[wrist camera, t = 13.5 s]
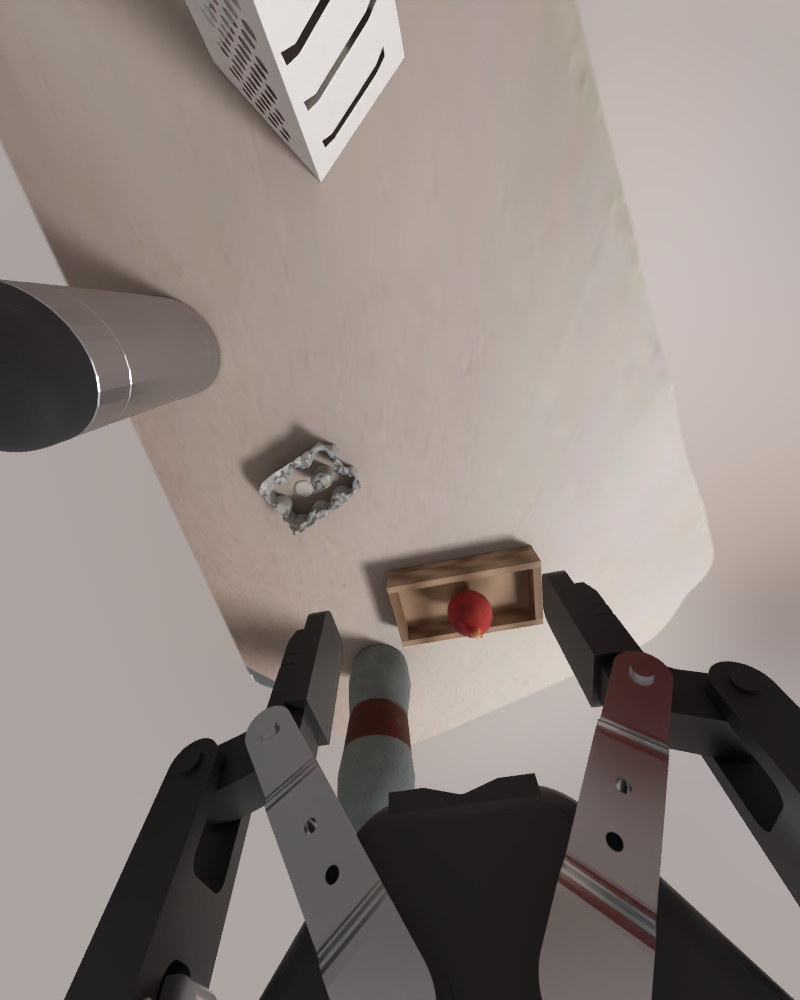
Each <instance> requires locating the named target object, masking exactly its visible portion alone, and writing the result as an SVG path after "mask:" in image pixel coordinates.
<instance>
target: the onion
mask: <svg viewBox="0 0 800 1000" xmlns="http://www.w3.org/2000/svg"><path fill="white" fill-rule="evenodd" d="M447 613H448V619H449V622H450V624H451V625H452V627H453V628H454V629H455V630H456V631H457V632H458V633H459V634H461V635H463V636H467V637H470V638H481V637H482V634H484V633H485V632H486V631H487V630H488V629H489V628H490V625H491V622H492V618H493V614H492V608H491V605H490V603H489V601H488V600H487V598H486V597H485V596H484V595H482V594H480V593H479V592H477V591H474V590H462V591H459V592H457V593H456V594H455V595H454V596H453V597H452V598H451V600H450V602H449V605H448V607H447Z"/></svg>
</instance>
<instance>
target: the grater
mask: <svg viewBox="0 0 800 1000" xmlns="http://www.w3.org/2000/svg"><path fill="white" fill-rule="evenodd" d="M213 1H214V0H185V2H186V4H187V6H188V8H189V10H190V12H191V15H192V17H193V19H194V21H195V23H196V25H197V27H198V30H199V32H200V34H201V36H202V38H203V40H204V42H205V45H206V47H207V49H208V51H209V53H210V55H211V57H212V59H213V62H214V63H215V64H216V65H217V66H218V67H219V68H220V69H221V71H222V72H223V73H224V74H225V75H226V76H227V77H228V78H229V80H230V81H231V82H232V83H233V84H234V85H235V86H236V87H237V89H238V90H239V91H240V92H241V93H242V94H243V95H244V96H245V98H246V99H247V100H248V101H249V102H250V103H251V104H252V105H253V107H254V108H255V109H256V110H257V111H258V112H259V113H260V114H261V116H262V117H263V118H264V119H265V120H266V121H267V122H268V123H269V125H270V126H271V127H272V128H273V129H274V130H275V131H276V132H277V134H278V135H279V136H280V137H281V138H282V139H283V140H284V141H285V143H286V144H287V145H288V146H289V147H290V148H291V149H292V150H293V152H294V153H295V154H296V155H297V156H298V157H299V158H300V159H301V161H302V162H303V163H304V164H305V165H306V166H307V167H308V168H309V170H310V171H311V172H312V173H313V174H314V175H315V176H316V177H317V179H318V180H319V181H320V182H321V181H322V180H323V178H324V177H325V175H326V174H327V172H328V171H329V169H330V168H331V166H332V165H333V163H334V162H335V160H336V159H337V157H338V156H339V154H340V153H341V151H342V150H343V148H344V147H345V145H346V144H347V142H348V141H349V139H350V138H351V136H352V135H353V133H354V132H355V130H356V129H357V127H358V126H359V124H360V123H361V121H362V120H363V118H364V117H365V115H366V114H367V112H368V111H369V109H370V108H371V106H372V105H373V103H374V102H375V100H376V99H377V97H378V96H379V94H380V93H381V91H382V90H383V88H384V87H385V85H386V84H387V82H388V81H389V79H390V78H391V76H392V75H393V73H394V72H395V70H396V69H397V67H398V66H399V64H400V63H401V61H402V60H403V58H404V51H403V46H402V40H401V34H400V28H399V22H398V16H397V10H396V5H395V0H330V1H329V3H328V5H327V6H326V8H325V10H324V12H323V13H322V15H321V17H320V19H319V20H318V22H317V24H316V25H315V27H314V29H313V31H312V32H311V34H310V36H309V38H308V39H307V41H306V43H305V45H304V46H303V48H302V50H301V51H300V53H299V54H298V55H297V56H296V57H295V58H294V59H293V60H292V61H291V62H290V63H289V64H288V65H286V63H285V61H284V59H283V57H282V55H281V52H283V51H284V50H286V49H287V48H289V47H291V46H292V45H294V44H295V43H296V42H297V40H298V38H299V36H300V35H301V33H302V31H303V29H304V28H305V26H306V24H307V22H308V21H309V19H310V17H311V15H312V14H313V12H314V10H315V8H316V6H317V5H318V3H319V1H320V0H217V2H218V6H217V5H216V4H215V3H214V2H213ZM211 3H212V5H213V6H214V8H215V10H216V12H214V11H213V10H212V9H211V8H210V6H209V4H211ZM367 7H369V8H370V10H371V11H372V12H371V15H370V17H369V19H368V21H367V23H366V25H365V26H364V28H363V29H362V31H361V33H360V34H359V36H358V38H357V39H356V41H355V42H354V44H353V46H352V47H351V49H350V51H349V52H348V54H347V55H346V57H345V59H344V60H343V62H342V64H341V65H340V67H339V68H338V70H337V72H336V73H335V75H334V76H333V78H332V80H331V81H330V83H329V85H328V86H327V88H326V89H325V91H324V93H323V94H322V96H321V98H320V99H319V101H318V102H317V103H316V104H315V105H314V106H313V107H312V108H311V109H310V110H309V111H308V110H307V108H306V106H305V104H304V101H306V100H307V99H309V98H310V97H312V96H313V95H315V94H316V93H317V91H318V89H319V88H320V86H321V84H322V83H323V81H324V79H325V78H326V76H327V75H328V73H329V71H330V70H331V68H332V66H333V65H334V63H335V61H336V60H337V58H338V57H339V55H340V53H341V52H342V50H343V48H344V47H345V45H346V43H347V42H348V40H349V39H350V37H351V35H352V34H353V32H354V30H355V29H356V27H357V25H358V24H359V22H360V21H361V19H362V17H363V16H364V14H365V12H366V10H367ZM208 8H209V9H210V10H211V12H212V13H213V15H212V14H211V12H210V10H209V9H208ZM240 8H241V10H240ZM236 16H237V17H238V19H237V18H236ZM241 19H243V20H244V21H245V22H246V23H247V24H248V26H249V27H250V28H251V30H252V32H253V33H254V35H255V37H256V41H255V40H254V39H253V38H252V37H251V36H250V34H249V33H248V32H247V30H246V28H245V27H244V25H243V23H242V21H241ZM234 21H235V23H236V25H237V28H236V27H235V26H234V25H233V22H234ZM231 27H232V29H233V31H234V33H235V35H234V34H232V32H231V31H230V28H231ZM241 29H243V30H244V31H245V32H246V34H247V35H248V36H249V38H250V39H251V41H252V42H253V44H254V46H255V49H253V48H252V47H251V45H250V44H249V43H248V42H247V40H246V39H245V37H244V35H243V34H242V32H241ZM228 32H229V33H230V35H231V36H232V38H233V40H234V42H232V41H231V40H230V38H229V37H228V36H227V34H228ZM238 35H239V36H240V37H241V38H242V39H243V40H244V42H245V43H246V44H247V46H248V47H249V49H250V51H251V53H252V55H251V54H250V53H249V52H248V51H247V50H246V49H245V48H244V46H243V45H242V43H241V42H240V40H239V38H238ZM225 38H227V39H228V40H229V42H230V44H231V46H229V44H228V43H227V42H226V41H225ZM223 42H225V43H226V45H227V46H228V48H229V49H230V51H231V53H230V52H229V51H228V50H227V49H226V48H225V47H224V45H223ZM238 44H240V46H241V47H242V48H243V49H244V50H245V52H246V53H247V55H248V56H249V58H250V60H251V62H250V61H249V60H248V59H247V58H246V57H245V56H244V54H243V53H242V51H241V50H240V48H239V46H238ZM221 46H222V47H223V48H224V50H225V51H226V53H227V54H228V56H229V58H228V57H227V56H226V55H225V54H224V53H223V51H222V50H221ZM383 47H384V55H385V57H384V59H383V61H382V63H381V65H380V67H379V69H378V71H377V73H376V75H375V77H374V78H373V80H372V81H371V83H370V84H369V86H368V87H367V89H366V90H365V92H364V93H363V95H362V97H361V98H360V100H359V101H358V103H357V104H356V106H355V107H354V109H353V110H352V112H351V113H350V115H349V116H348V118H347V120H346V121H345V123H344V124H343V126H342V127H341V129H340V130H339V132H338V133H337V135H336V136H335V138H334V139H333V140H332V141H331V142H330V143H329V144H328V145H327V146H326V147H325V146H324V144H323V142H322V141H323V140H324V139H326V138H327V137H328V136H330V135H331V134H332V133H333V131H334V130H335V128H336V127H337V125H338V124H339V122H340V121H341V119H342V118H343V116H344V114H345V113H346V111H347V110H348V108H349V107H350V105H351V104H352V102H353V101H354V99H355V97H356V96H357V94H358V93H359V91H360V89H361V88H362V86H363V85H364V83H365V82H366V80H367V78H368V77H369V75H370V74H371V72H372V70H373V69H374V67H375V66H376V64H377V61H378V58H379V56H380V53H381V51H382V48H383ZM235 48H236V49H237V50H238V51H239V52H240V53H241V55H242V56H243V57H244V59H245V61H246V62H247V65H246V64H245V63H244V62H243V61H242V60H241V58H240V57H239V55H238V54H237V52H236V50H235ZM234 54H235V55H236V56H237V57H238V58H239V59H240V61H241V62H242V63H243V65H244V67H245V68H246V70H244V69H243V68H242V66H241V65H240V64H239V63H238V61H237V60H236V58H235V56H234ZM255 56H257V57H258V58H259V59H260V60H261V62H262V63H263V64H264V66H265V68H266V69H267V71H268V74H267V73H266V72H265V71H264V70H263V69H262V68H261V66H260V65H259V63H258V62H257V60H256V58H255ZM232 59H233V60H234V61H235V62H236V63H237V64H238V66H239V67H240V68H241V70H242V72H243V74H244V75H243V74H242V73H241V72H240V71H239V70H238V69H237V67H236V66H235V64H234V63H233V61H232ZM254 63H256V64H257V65H258V66H259V68H260V69H261V70H262V72H263V73H264V75H265V77H266V80H265V79H264V78H263V77H262V76H261V74H260V73H259V72H258V70H257V69H256V67H255V65H254ZM232 65H233V66H234V67H235V68H236V69H237V70H238V72H239V73H240V75H241V76H242V78H243V80H242V79H241V78H240V77H239V76H238V74H237V73H236V72H235V70H234V69H233V67H232ZM250 66H252V67H253V68H254V69H255V71H256V72H257V73H258V75H259V76H260V78H261V80H262V82H261V81H260V80H259V79H258V78H257V77H256V76H255V74H254V73H253V71H252V69H251V68H250ZM229 67H230V68H231V69H232V70H233V71H234V72H235V74H236V75H237V76H238V78H239V80H240V81H239V80H238V79H237V78H236V77H235V76H234V75H233V73H232V72H231V70H230V69H229ZM250 73H252V74H253V75H254V77H255V78H256V79H257V81H258V82H259V84H260V86H261V88H260V87H259V86H258V85H257V84H256V83H255V81H254V80H253V78H252V77H251V75H250ZM247 76H248V77H249V78H250V79H251V80H252V82H253V83H254V84H255V86H256V87H257V89H258V91H257V90H256V89H255V88H254V87H253V86H252V84H251V83H250V82H249V80H248V78H247ZM246 81H247V82H248V83H249V84H250V85H251V86H252V88H253V89H254V91H255V92H256V94H257V95H255V94H254V93H253V92H252V90H251V89H250V88H249V86H248V85H247V83H246ZM242 82H243V83H244V84H245V85H246V86H247V87H248V88H249V90H250V91H251V92H252V94H253V96H252V95H251V94H250V93H249V92H248V91H247V89H246V88H245V87H244V85H243V83H242ZM266 84H267V85H268V86H269V87H270V88H271V89H272V91H273V92H274V94H275V95H276V97H277V99H275V98H274V97H273V96H272V94H271V93H270V92H269V90H268V89H267V87H266ZM242 87H243V88H244V89H245V90H246V91H247V92H248V94H249V95H250V96H251V98H252V100H251V99H250V98H249V97H248V96H247V94H246V93H245V92H244V90H243V88H242ZM264 89H265V90H266V91H267V92H268V93H269V94H270V95H271V97H272V98H273V100H274V102H275V104H274V103H273V102H272V101H271V100H270V99H269V97H268V96H267V94H266V93H265V91H264ZM261 92H262V93H263V94H264V95H265V96H266V98H267V99H268V100H269V102H270V103H271V105H272V107H271V106H270V105H269V104H268V103H267V102H266V101H265V99H264V98H263V96H262V94H261ZM260 97H261V98H262V99H263V100H264V101H265V102H266V104H267V105H268V107H269V108H270V110H268V109H267V108H266V106H265V105H264V104H263V102H262V101H261V99H260ZM256 98H258V100H259V101H260V102H261V103H262V104H263V106H264V107H265V109H266V111H265V110H264V109H263V108H262V107H261V105H260V104H259V103H258V101H257V99H256ZM255 102H256V103H257V104H258V105H259V106H260V107H261V108H262V110H263V111H264V113H265V114H263V113H262V112H261V110H260V109H259V108H258V107H257V105H256V103H255ZM275 108H276V109H277V110H278V111H279V113H280V114H281V115H282V117H283V118H284V120H285V122H284V121H283V120H282V119H281V118H280V117H279V115H278V114H277V112H276V111H275ZM273 112H274V113H275V114H276V115H277V116H278V117H279V119H280V120H281V122H282V123H283V125H282V124H281V123H280V122H279V121H278V120H277V119H276V117H275V116H274V114H273ZM269 113H271V114H272V115H273V117H274V118H275V119H276V121H277V122H278V124H279V125H277V124H276V123H275V121H274V120H273V119H272V117H271V116H270V114H269ZM268 116H269V117H270V118H271V119H272V121H273V122H274V123H275V125H276V126H277V128H276V127H275V126H274V125H273V124H272V123H271V121H270V120H269V118H268ZM282 127H283V128H284V129H285V130H286V131H287V133H288V134H289V136H290V137H291V139H290V138H289V137H288V136H287V135H286V134H285V132H284V131H283V129H282ZM280 130H281V131H282V132H283V133H284V134H285V135H286V137H287V138H288V140H289V142H288V141H287V140H286V139H285V138H284V136H283V135H282V133H281V132H280Z"/></svg>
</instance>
